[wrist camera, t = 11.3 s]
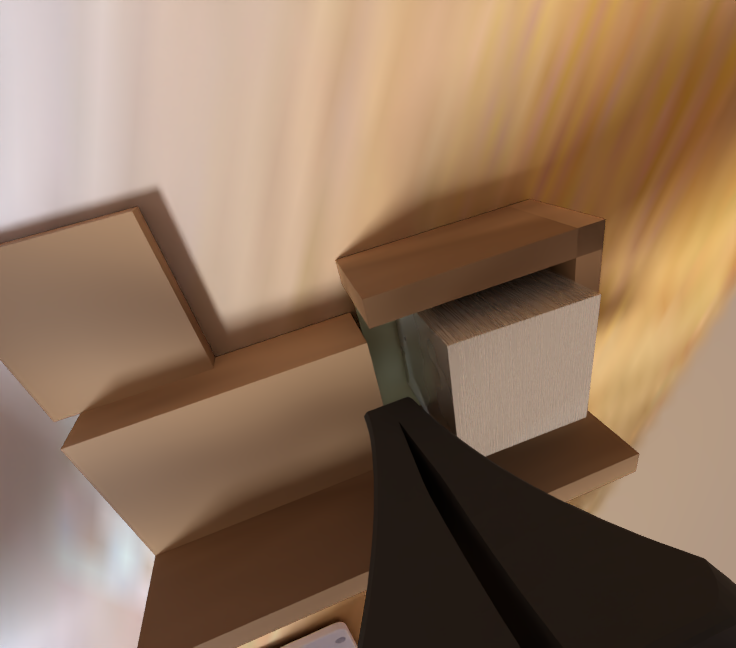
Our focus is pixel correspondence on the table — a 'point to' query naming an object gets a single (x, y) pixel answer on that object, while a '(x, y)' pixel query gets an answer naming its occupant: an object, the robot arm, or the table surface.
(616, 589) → the robot arm
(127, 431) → the walnut cabinet
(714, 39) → the table surface
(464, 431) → the steel cube
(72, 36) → the table surface
